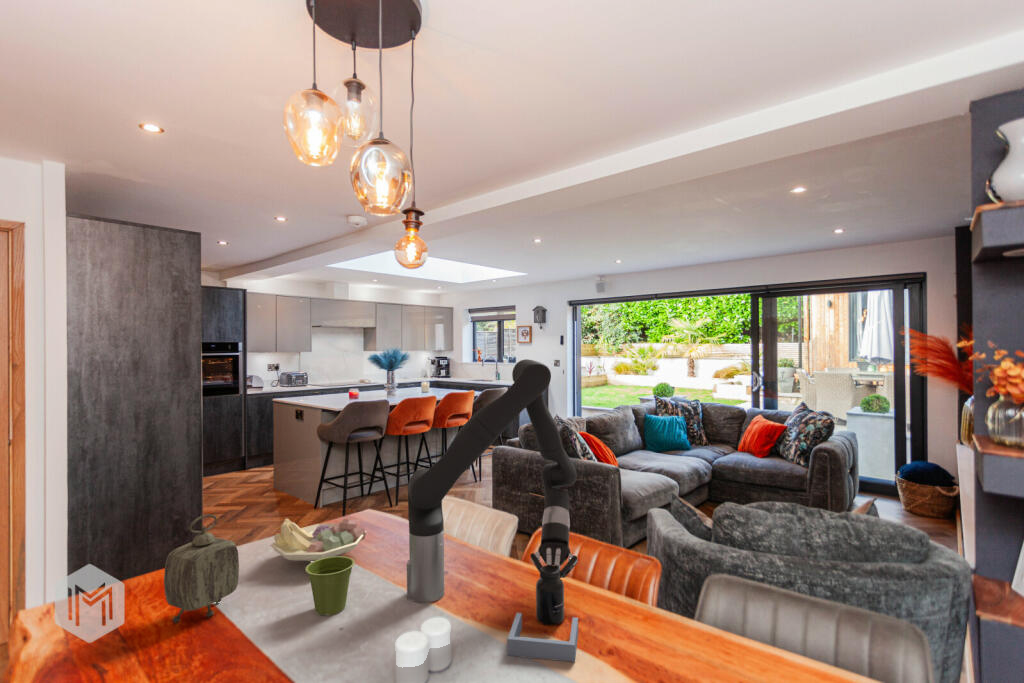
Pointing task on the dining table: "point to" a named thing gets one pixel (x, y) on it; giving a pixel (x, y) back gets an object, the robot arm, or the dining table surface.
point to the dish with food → (317, 540)
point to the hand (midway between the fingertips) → (552, 593)
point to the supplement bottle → (550, 596)
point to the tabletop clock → (201, 571)
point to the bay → (542, 644)
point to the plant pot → (330, 583)
